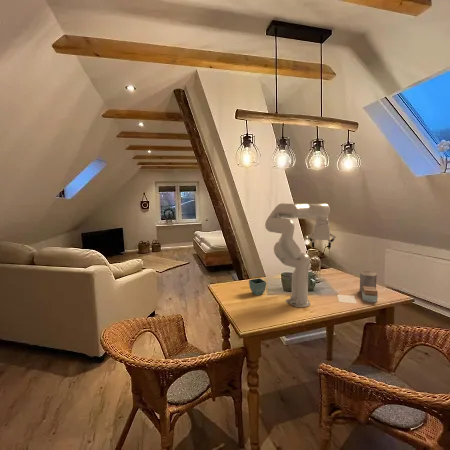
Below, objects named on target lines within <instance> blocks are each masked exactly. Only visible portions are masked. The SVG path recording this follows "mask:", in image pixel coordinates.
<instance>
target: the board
mask: <svg viewBox="0 0 450 450" xmlns="http://www.w3.org/2000/svg"><path fill="white" fill-rule="evenodd" d="M363 293H364V295H373V296H377V295H378V289H377V287H376V288H375V287H367V286H363Z"/></svg>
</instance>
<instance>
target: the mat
mask: <svg viewBox="0 0 450 450" xmlns="http://www.w3.org/2000/svg"><path fill="white" fill-rule="evenodd" d="M337 298H338V302H339V303H346V304H357V300H356V298H355V296H354V295H345V294H337Z"/></svg>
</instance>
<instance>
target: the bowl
mask: <svg viewBox="0 0 450 450" xmlns="http://www.w3.org/2000/svg"><path fill="white" fill-rule="evenodd" d="M378 296H379V295H378V294H377V296H373V295H364V293H363V292H362V293H361V299H362V301H365V302H368V303H376V301H377V302H378V298H379V297H378Z"/></svg>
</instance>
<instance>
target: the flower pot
mask: <svg viewBox="0 0 450 450" xmlns="http://www.w3.org/2000/svg"><path fill="white" fill-rule="evenodd" d="M248 285H249V288H250V291H251V293H252V294H253V295H255V296H260V295H263V294H264V293H265V291H266V287H267V281H266V280H264V279H262V278H261V277H259V278H253V279H249V280H248Z"/></svg>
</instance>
